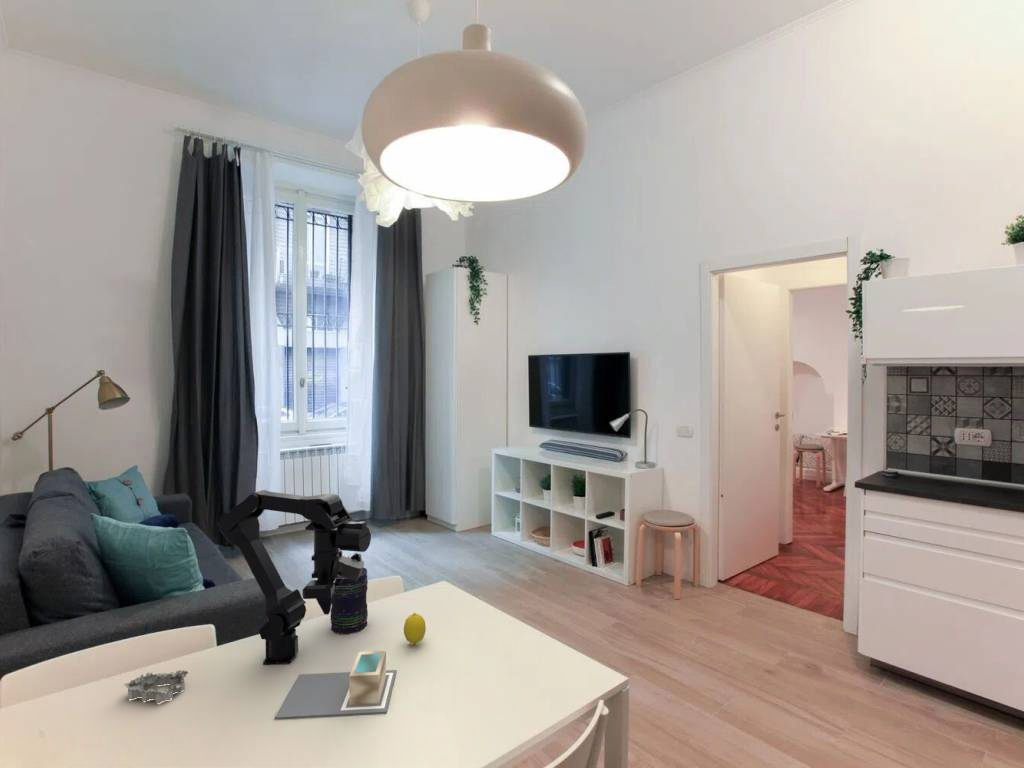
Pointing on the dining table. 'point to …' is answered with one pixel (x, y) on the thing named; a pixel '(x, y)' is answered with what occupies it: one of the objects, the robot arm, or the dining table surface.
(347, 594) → the storage jar
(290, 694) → the mat
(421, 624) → the lemon
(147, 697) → the egg carton
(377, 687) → the block
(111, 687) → the dining table surface
